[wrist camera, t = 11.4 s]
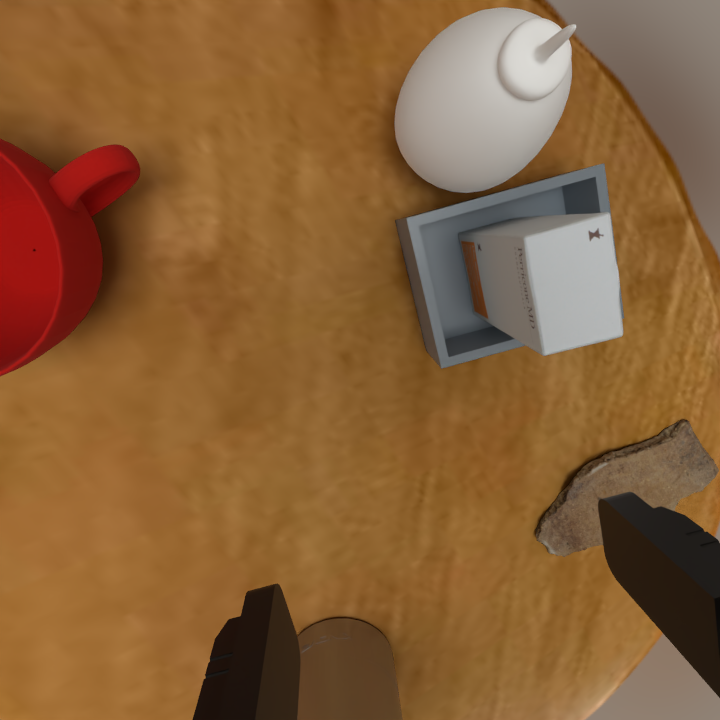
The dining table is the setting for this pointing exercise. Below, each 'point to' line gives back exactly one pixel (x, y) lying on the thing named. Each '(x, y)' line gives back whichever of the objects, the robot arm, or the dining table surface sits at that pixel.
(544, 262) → the skincare box
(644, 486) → the pottery shard
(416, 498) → the dining table surface
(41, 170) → the ceramic cup
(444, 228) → the bin
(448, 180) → the sauce bottle
